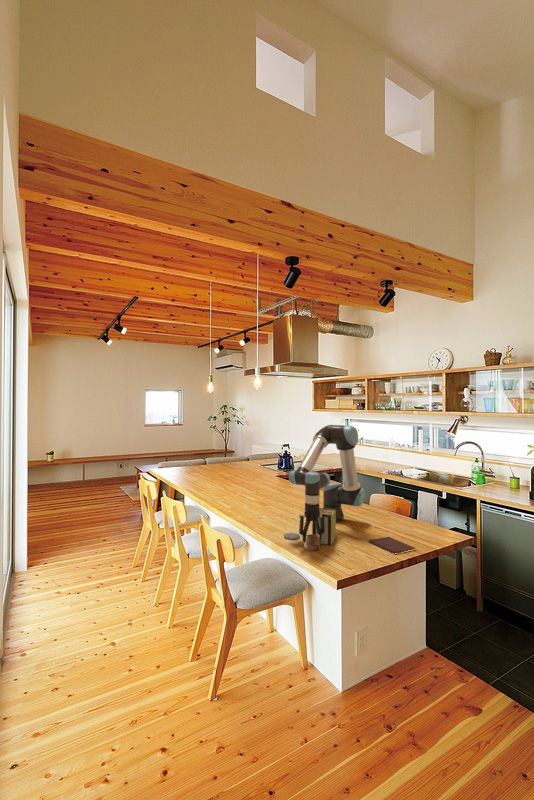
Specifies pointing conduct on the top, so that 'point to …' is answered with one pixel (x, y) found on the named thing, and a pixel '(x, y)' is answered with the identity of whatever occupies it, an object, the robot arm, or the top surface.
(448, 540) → the top surface
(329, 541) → the protein box
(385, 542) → the notebook
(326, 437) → the robot arm
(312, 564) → the top surface
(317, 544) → the walnut block
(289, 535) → the slate coaster
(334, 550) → the top surface
